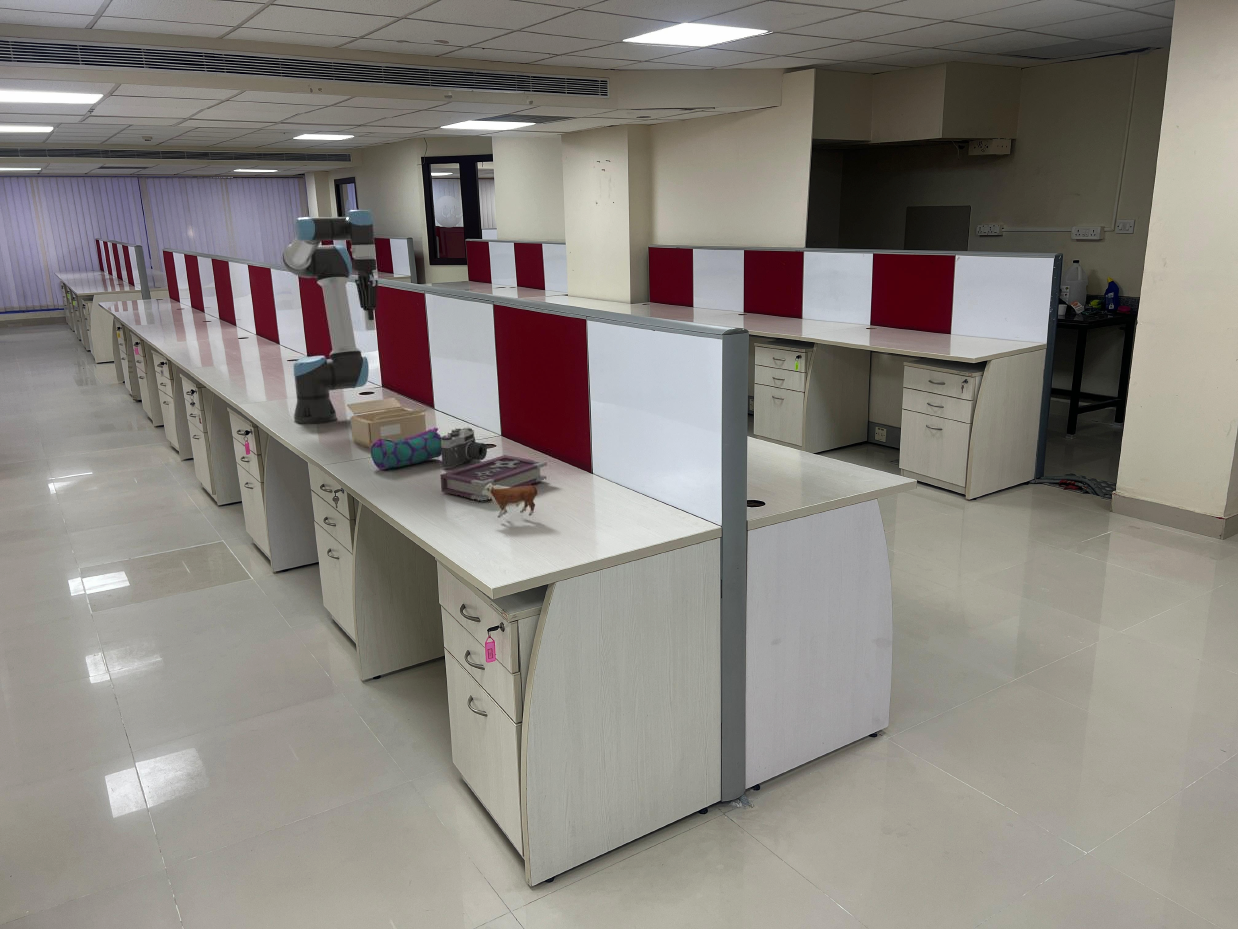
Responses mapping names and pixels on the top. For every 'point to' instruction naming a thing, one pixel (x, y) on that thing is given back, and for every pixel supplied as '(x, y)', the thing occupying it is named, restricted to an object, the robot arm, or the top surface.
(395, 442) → the pencil case
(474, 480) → the book
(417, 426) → the carton
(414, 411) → the flap
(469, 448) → the camera
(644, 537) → the top surface
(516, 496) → the bull figurine
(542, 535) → the top surface
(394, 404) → the flap
